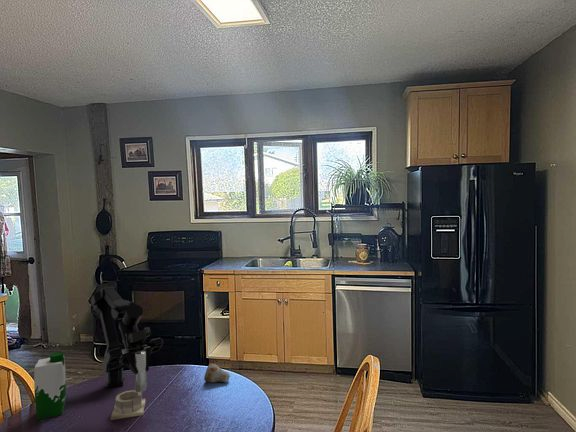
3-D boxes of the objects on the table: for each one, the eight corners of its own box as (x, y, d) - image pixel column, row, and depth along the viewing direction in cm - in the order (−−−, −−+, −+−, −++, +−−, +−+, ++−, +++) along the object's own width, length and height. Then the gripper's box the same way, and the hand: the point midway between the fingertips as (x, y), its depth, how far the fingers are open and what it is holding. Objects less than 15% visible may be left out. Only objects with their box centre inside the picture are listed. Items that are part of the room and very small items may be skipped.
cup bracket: (115, 405, 136) (115, 391, 136) (145, 401, 139) (145, 387, 139) (110, 420, 126) (110, 405, 126) (143, 415, 129) (142, 400, 129)
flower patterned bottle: (229, 386, 150) (215, 366, 148) (210, 394, 152) (196, 374, 151) (235, 374, 157) (222, 354, 155) (216, 381, 159) (203, 362, 158)
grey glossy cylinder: (138, 387, 135) (137, 350, 134) (148, 387, 135) (147, 350, 134) (133, 392, 131) (133, 354, 131) (144, 392, 131) (143, 354, 131)
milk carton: (64, 415, 130) (62, 357, 130) (33, 421, 126) (31, 362, 126) (67, 403, 138) (66, 348, 138) (38, 409, 135) (36, 353, 134)
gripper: (107, 326, 129) (119, 369, 121) (160, 315, 141) (174, 353, 134) (101, 343, 135) (111, 385, 127) (152, 331, 148) (165, 368, 140)
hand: (142, 372), depth 132 cm, fingers closed on grey glossy cylinder, 4 cm apart
